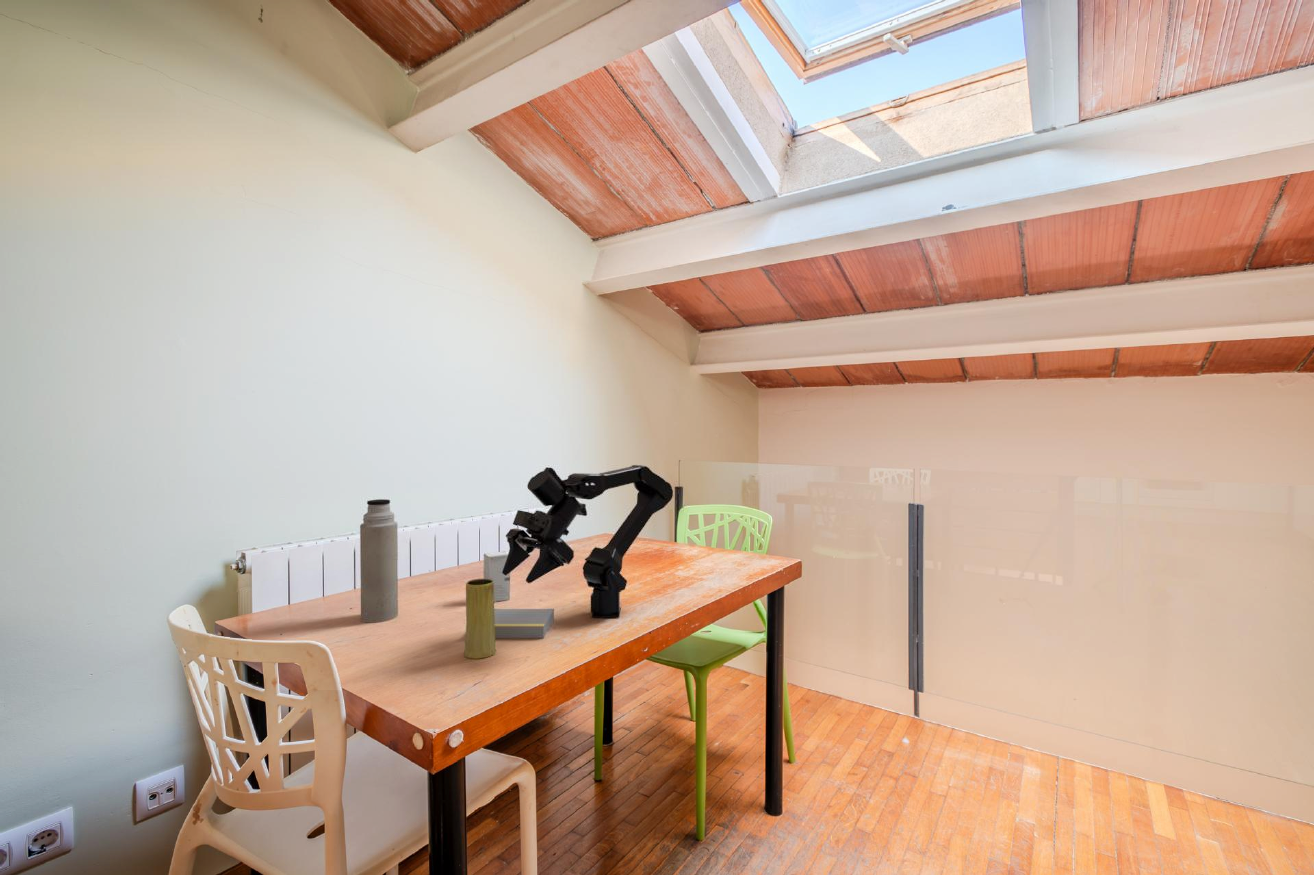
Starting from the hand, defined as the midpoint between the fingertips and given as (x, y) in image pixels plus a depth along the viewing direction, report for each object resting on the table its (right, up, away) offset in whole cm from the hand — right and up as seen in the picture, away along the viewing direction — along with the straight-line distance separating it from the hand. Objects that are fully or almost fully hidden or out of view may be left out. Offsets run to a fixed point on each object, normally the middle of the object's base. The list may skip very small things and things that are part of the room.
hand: (515, 578), depth 118 cm
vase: (-5, -14, -6) cm, 16 cm away
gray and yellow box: (-2, -13, +8) cm, 16 cm away
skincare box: (-12, -13, +30) cm, 35 cm away
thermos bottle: (-36, -14, +16) cm, 42 cm away
